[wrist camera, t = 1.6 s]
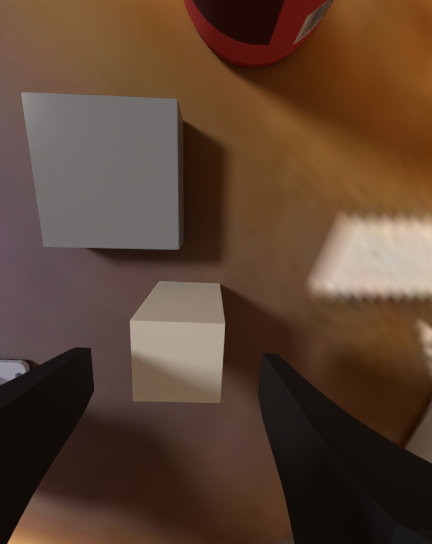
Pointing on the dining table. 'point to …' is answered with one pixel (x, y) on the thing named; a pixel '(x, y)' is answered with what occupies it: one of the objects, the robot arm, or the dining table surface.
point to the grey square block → (107, 170)
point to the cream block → (178, 344)
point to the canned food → (255, 27)
